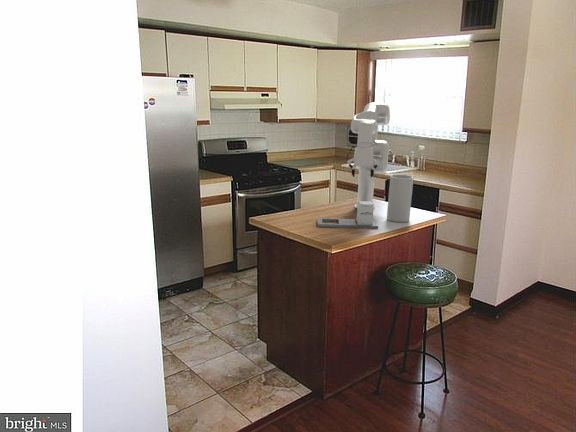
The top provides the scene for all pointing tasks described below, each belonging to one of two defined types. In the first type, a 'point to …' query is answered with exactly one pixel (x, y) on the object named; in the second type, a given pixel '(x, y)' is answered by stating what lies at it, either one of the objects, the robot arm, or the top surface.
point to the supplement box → (365, 213)
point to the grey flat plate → (344, 223)
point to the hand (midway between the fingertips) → (362, 176)
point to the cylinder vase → (399, 198)
